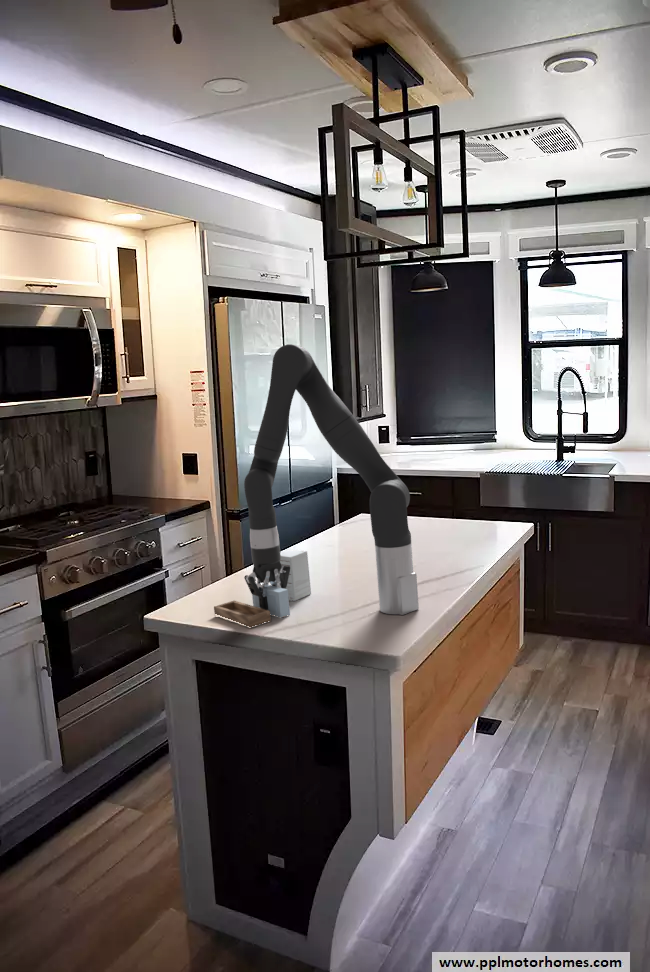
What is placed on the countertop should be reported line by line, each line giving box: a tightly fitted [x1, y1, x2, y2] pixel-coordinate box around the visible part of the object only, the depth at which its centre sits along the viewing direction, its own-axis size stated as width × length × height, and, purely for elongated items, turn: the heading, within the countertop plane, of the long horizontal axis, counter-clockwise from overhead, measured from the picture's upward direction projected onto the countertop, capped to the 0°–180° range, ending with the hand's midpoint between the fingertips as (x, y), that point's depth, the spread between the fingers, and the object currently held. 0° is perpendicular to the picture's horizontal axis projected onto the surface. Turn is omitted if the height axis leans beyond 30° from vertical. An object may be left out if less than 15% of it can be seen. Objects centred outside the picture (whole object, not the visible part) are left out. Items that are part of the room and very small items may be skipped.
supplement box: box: [279, 548, 312, 602], centre depth 224 cm, size 7×7×13 cm
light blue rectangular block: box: [251, 583, 291, 618], centre depth 211 cm, size 12×3×7 cm, turn 41°
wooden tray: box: [213, 600, 272, 627], centre depth 208 cm, size 16×6×3 cm, turn 41°
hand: (271, 607), depth 211 cm, fingers open, 3 cm apart
